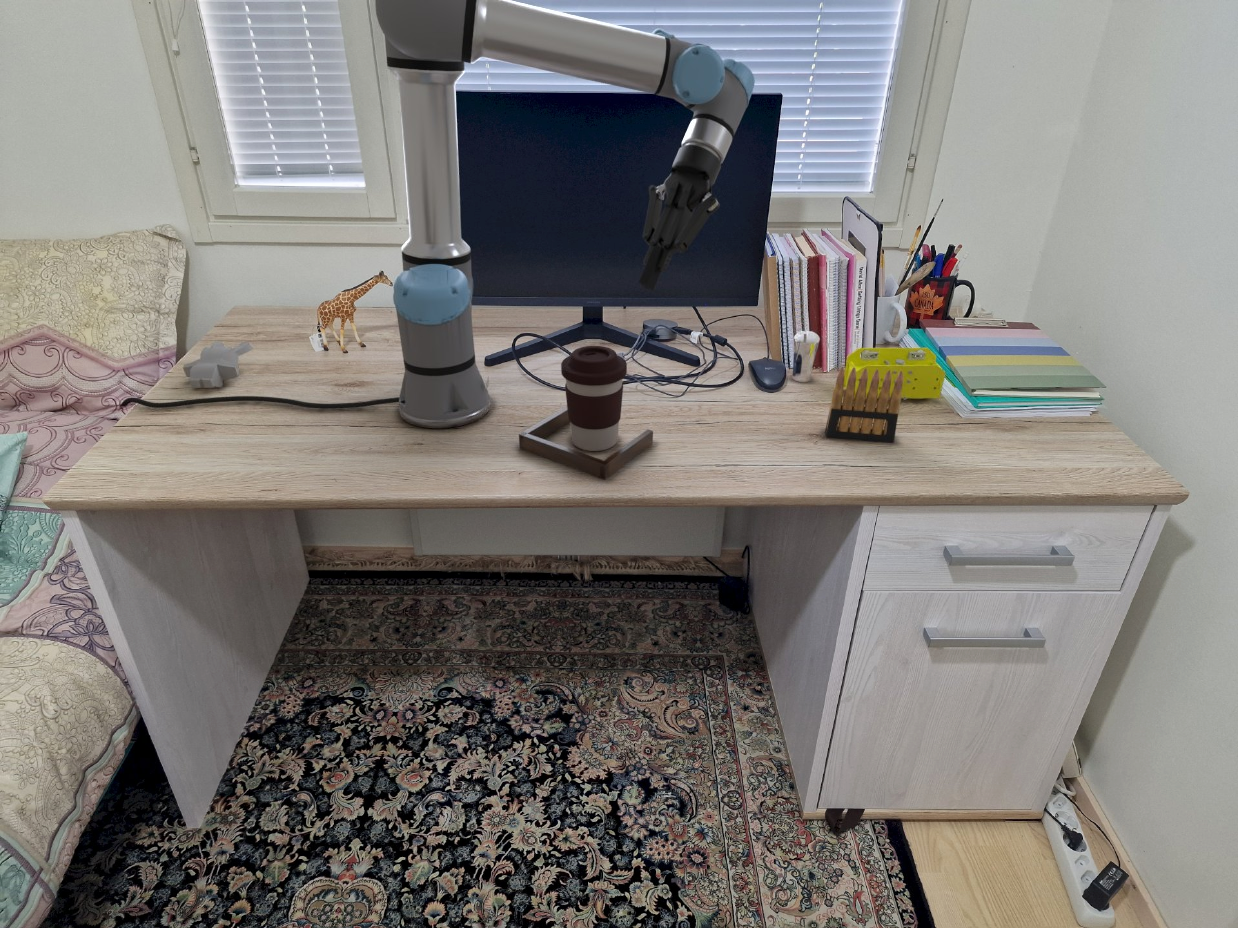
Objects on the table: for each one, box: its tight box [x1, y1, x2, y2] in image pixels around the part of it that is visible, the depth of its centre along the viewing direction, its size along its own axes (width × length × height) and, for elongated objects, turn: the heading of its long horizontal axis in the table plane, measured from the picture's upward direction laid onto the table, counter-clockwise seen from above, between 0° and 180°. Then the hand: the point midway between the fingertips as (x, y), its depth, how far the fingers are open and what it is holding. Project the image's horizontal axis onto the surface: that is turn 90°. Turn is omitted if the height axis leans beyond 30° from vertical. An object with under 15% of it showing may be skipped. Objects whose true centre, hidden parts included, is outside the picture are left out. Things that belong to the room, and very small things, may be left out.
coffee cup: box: [560, 345, 628, 452], centre depth 118 cm, size 10×10×15 cm
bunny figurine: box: [182, 341, 254, 389], centre depth 141 cm, size 10×5×15 cm
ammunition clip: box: [824, 366, 903, 444], centre depth 120 cm, size 11×2×12 cm, turn 80°
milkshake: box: [792, 330, 821, 383], centre depth 140 cm, size 5×5×10 cm
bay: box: [518, 405, 654, 480], centre depth 119 cm, size 13×16×2 cm
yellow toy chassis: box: [843, 347, 946, 401], centre depth 135 cm, size 16×6×8 cm, turn 91°
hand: (646, 286), depth 125 cm, fingers closed
